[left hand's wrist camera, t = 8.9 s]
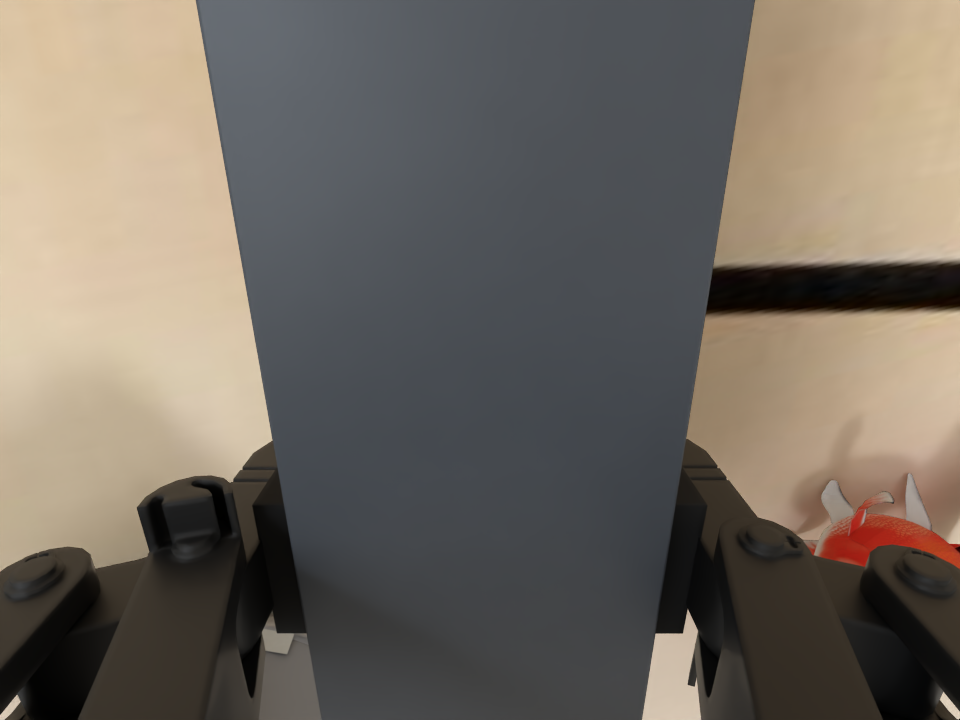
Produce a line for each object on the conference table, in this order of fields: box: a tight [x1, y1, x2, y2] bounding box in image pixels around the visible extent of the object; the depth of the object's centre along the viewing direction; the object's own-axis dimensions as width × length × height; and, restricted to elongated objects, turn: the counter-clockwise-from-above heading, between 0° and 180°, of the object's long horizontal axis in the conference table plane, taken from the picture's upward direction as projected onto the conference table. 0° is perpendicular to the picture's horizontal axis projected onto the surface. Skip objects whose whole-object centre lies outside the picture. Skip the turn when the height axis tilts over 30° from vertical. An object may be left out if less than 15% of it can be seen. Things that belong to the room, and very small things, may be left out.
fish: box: [803, 473, 960, 569], centre depth 26 cm, size 11×16×10 cm
